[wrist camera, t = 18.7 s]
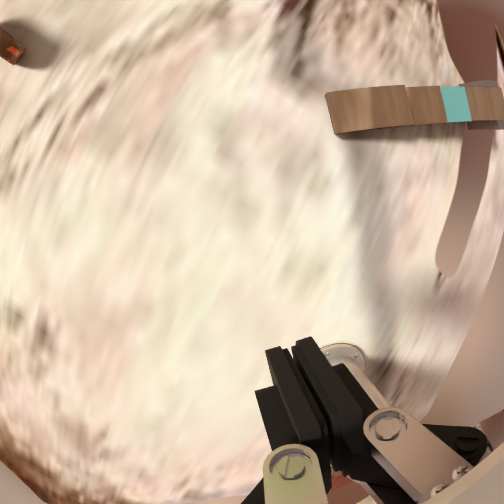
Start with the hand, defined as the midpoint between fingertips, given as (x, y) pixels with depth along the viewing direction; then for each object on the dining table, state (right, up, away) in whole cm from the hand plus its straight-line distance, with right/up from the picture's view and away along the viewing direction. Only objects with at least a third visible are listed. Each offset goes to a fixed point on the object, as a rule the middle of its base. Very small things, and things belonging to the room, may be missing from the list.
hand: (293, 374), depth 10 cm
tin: (-35, +33, +10) cm, 49 cm away
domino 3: (+19, +24, +23) cm, 38 cm away
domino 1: (+8, +20, +21) cm, 30 cm away
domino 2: (+14, +22, +22) cm, 34 cm away
